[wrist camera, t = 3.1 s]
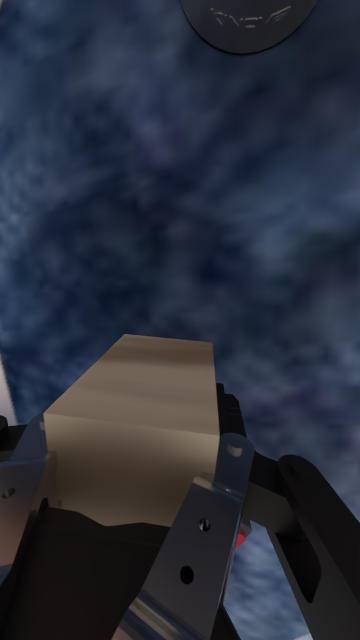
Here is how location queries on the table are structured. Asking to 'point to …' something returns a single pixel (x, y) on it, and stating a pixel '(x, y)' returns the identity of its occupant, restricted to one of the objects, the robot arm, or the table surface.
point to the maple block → (136, 430)
